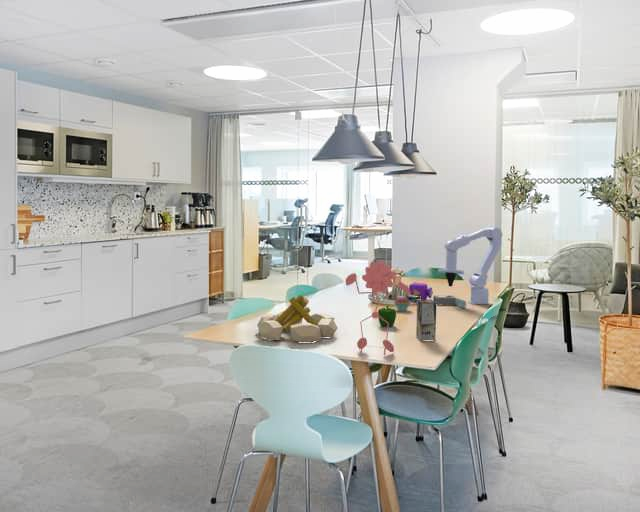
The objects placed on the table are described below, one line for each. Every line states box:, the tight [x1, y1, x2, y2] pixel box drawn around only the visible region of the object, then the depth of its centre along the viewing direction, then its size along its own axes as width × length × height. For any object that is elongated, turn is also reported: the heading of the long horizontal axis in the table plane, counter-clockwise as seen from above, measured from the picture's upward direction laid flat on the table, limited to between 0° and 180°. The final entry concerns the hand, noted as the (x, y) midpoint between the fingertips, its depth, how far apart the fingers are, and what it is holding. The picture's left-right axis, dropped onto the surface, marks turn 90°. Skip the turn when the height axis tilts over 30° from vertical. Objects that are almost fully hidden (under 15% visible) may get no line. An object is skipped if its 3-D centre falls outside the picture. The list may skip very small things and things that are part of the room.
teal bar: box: [455, 297, 467, 309], centre depth 326 cm, size 10×2×4 cm, turn 15°
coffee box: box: [415, 299, 437, 341], centre depth 250 cm, size 9×6×16 cm
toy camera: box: [408, 281, 434, 300], centre depth 347 cm, size 11×14×10 cm
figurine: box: [344, 260, 410, 356], centre depth 228 cm, size 15×26×35 cm, turn 69°
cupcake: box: [393, 292, 412, 312], centre depth 314 cm, size 9×8×12 cm
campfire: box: [256, 294, 339, 343], centre depth 256 cm, size 35×34×17 cm
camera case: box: [432, 295, 457, 306], centre depth 335 cm, size 11×8×4 cm
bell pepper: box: [377, 303, 397, 327], centre depth 275 cm, size 8×8×10 cm
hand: (450, 286), depth 335 cm, fingers closed
